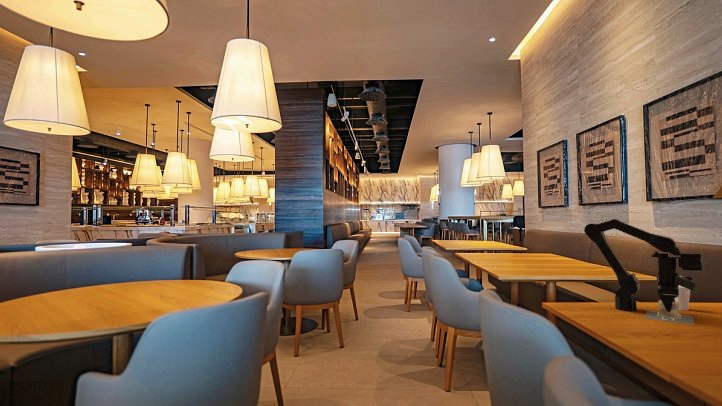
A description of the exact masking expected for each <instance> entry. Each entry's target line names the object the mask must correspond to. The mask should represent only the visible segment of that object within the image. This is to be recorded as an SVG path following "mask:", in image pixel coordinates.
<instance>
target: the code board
mask: <svg viewBox="0 0 722 406" xmlns="http://www.w3.org/2000/svg"><path fill="white" fill-rule="evenodd" d="M679 317H680V318H674V317H666V316H659V311H654V310H646V314H645V317H644V318H645V319H647V320H654V321H661V322H671V323H677V324H684V325H690V326H691V325H693V326H695V321H694V316H693V315H687V314H685V315H684V314H679Z"/></svg>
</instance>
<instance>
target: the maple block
mask: <svg viewBox="0 0 722 406" xmlns="http://www.w3.org/2000/svg"><path fill="white" fill-rule="evenodd" d="M658 312H659V316H666V317H674V318H680V317H679V315H680V310H679V302H675V301H673V304H672V308H671V312H667V310H666V308H665V307H664V305H663V303H662V301H661V299H659V300H658Z"/></svg>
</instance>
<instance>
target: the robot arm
mask: <svg viewBox="0 0 722 406" xmlns="http://www.w3.org/2000/svg"><path fill="white" fill-rule="evenodd" d="M611 230H617V231H619V232H622V233H624V234H627V235H629V236H632V237H634V238H637V239H639V240H641V241H644V242H646V243H647V244H648V245H650V246H652V247H653V248H655V249H657V250H658V251H657V250H656V251H655V252H654V253H653V254H651V258H657V277H658V278H657V280H658V281H657V288H656V290H657V291H656V293H657V295H658V297H659V300H661V301H662V303H663V305H664V307H665V308H666V310H667V312H671V308H672V304H673V302H674V300H675V298H676V297H678V296H679V289H678V287H679V286H682V287H685V288H688V289H689V290H690V291H693V292H694V291H695V290H696V287H697V284H698V282H697V281H695V280H693V277H692V276H689V275H686V276H684V277H683V276H682V277H680V276H681V275H679V273H678V269H677V267H678V268H680V269H682V271H687V272H689V271H690V272H703V261H702V254H701V252H700V253H699V252H694V253H689V252H682V251H681V249H679V248H678V247H677V243H676V241H675V239H673V238H672V237H669V236H664V235H662V234H661V235H660V234H656V233H651V232H649V231H646V230H644V229H641V228H638V227H636V226H633V225H632V224H629V223H625V222H623V221H621V220H620V219H618V218H613V219H610V220H607V221H604V222H599V223H587V225H585V227H584V229H583V232H584V234H585V235H586V237H588V238H589V239H590V241H592V242H593V243H594V244H595V246H597V248H598V249H599V250H600V251H599V252H601V253H602V256H603V257H604V259H605V260H606V261H607V263H608V265H609V266H610V268H611V269H612V271H613V272H614V274H615V275H616V278H617V282H618V284H619V288H618V289H616V290H615V291H614V301H615V302H614V304H615V305H614V306H615V309H616V310H618V311H624V312H635V311H637V309H638V307H637V300H636V297H635V296H634V295H635V294H636V293H637V292H638V291H639V290H640V287H641V285H640V283H641V280H639V279H638V278H637V276H636V274H635V272H632V273H630V272H629V271H627V269H626V268H625V266H624V264H623V263H622V262H621V260H620V259H619V258H618V255H617V254H616V253H615V251H614V250H613V248H612V247H611V245H610V244H609V242H608V241H607V237H606V234H605V232H608V231H611ZM659 251H660V252H659ZM661 252H662V253H661ZM669 254H671V255H669ZM677 259H678V260H677ZM677 261H678V263H677ZM677 264H678V266H677ZM678 285H679V286H678Z"/></svg>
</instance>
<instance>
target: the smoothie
mask: <svg viewBox="0 0 722 406" xmlns="http://www.w3.org/2000/svg"><path fill="white" fill-rule="evenodd" d="M679 276H680V277H683V276H682V275H679ZM678 286H679V285H678ZM678 289H679V296H678V297H676V298H674V302H679V311H680V310H681V311H689V307H690V298H691V297H690V296H691V290H689V289H688V288H685V287H682V286H679V287H678Z"/></svg>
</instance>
